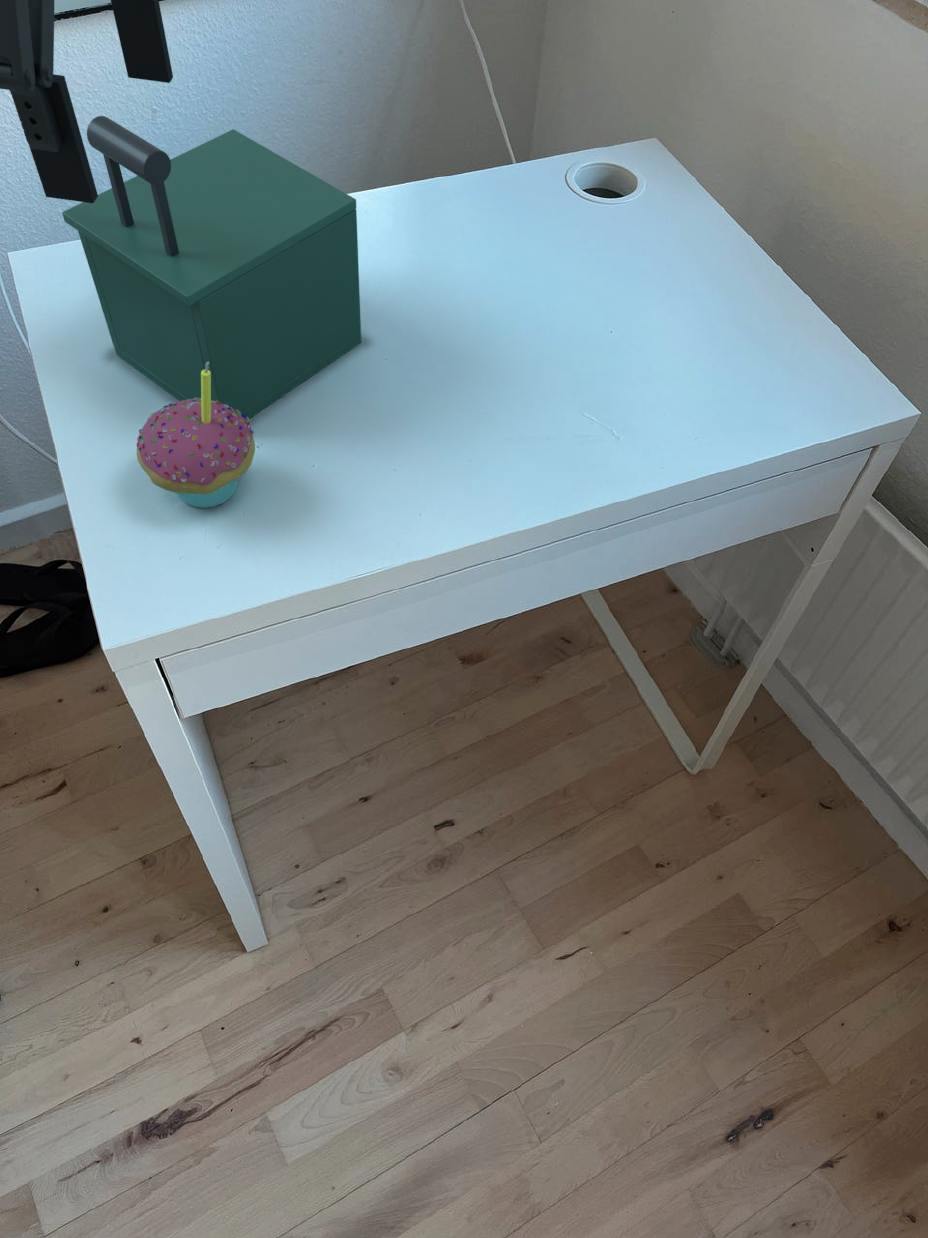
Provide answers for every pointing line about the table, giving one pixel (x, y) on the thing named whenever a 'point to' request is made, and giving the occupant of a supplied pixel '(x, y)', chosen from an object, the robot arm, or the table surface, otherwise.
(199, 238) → the cool box lid
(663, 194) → the table surface
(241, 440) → the cupcake
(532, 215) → the table surface
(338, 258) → the cool box
